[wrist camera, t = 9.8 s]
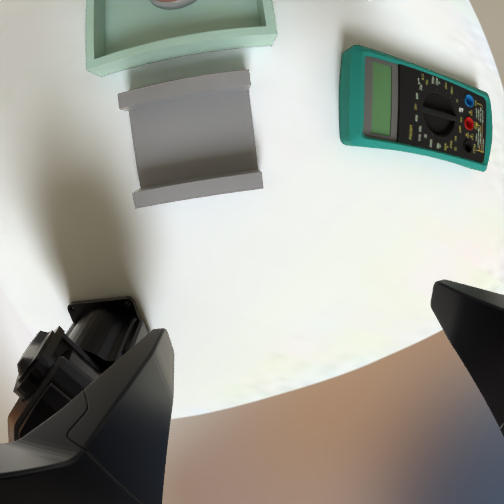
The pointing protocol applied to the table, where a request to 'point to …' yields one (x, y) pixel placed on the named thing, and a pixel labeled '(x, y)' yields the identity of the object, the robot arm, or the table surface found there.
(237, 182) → the grey cradle stand
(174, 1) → the fuse
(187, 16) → the tray
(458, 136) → the digital multimeter
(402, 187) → the table surface
